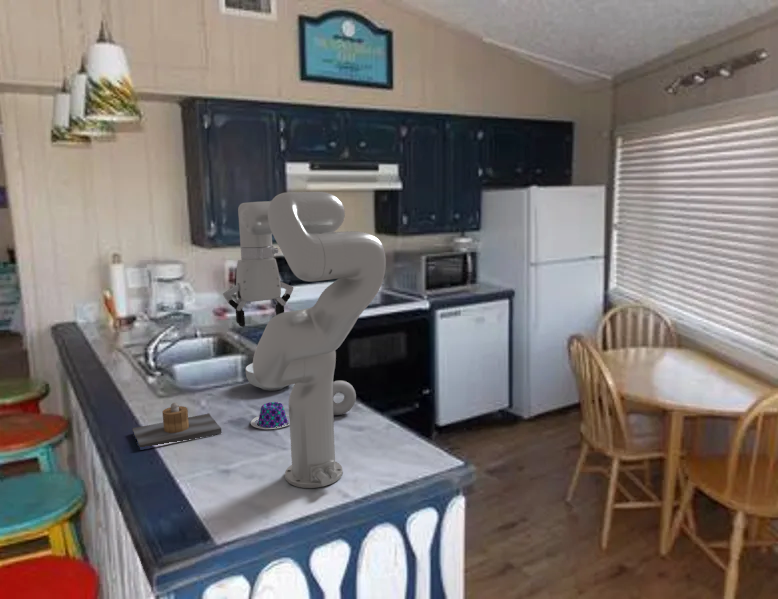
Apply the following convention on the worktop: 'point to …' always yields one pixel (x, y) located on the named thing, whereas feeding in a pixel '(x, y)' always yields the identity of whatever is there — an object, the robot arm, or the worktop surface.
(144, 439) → the needle stand
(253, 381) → the cereal bowl
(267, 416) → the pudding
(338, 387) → the donut
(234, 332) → the worktop surface
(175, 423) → the bead
